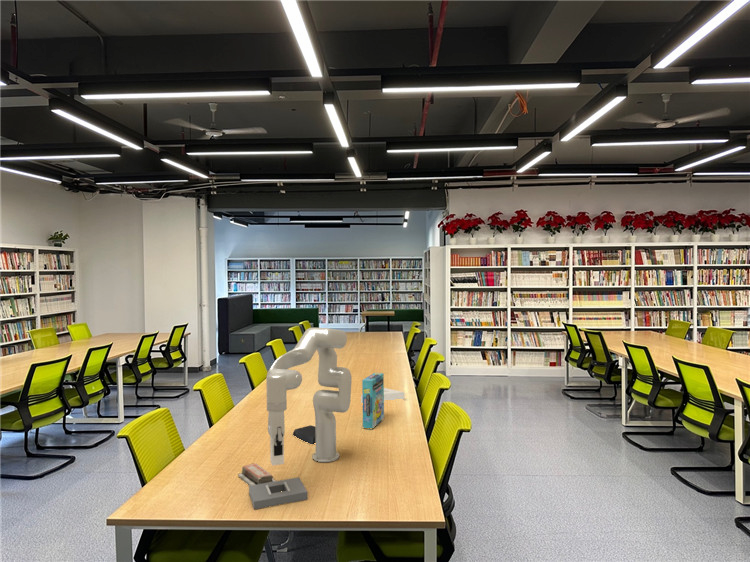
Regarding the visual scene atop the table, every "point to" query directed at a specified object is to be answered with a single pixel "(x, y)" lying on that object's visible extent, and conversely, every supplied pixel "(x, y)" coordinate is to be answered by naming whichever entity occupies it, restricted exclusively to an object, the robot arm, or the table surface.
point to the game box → (373, 399)
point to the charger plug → (273, 459)
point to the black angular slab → (306, 434)
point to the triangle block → (390, 395)
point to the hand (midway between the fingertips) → (277, 452)
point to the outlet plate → (277, 493)
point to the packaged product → (255, 475)
